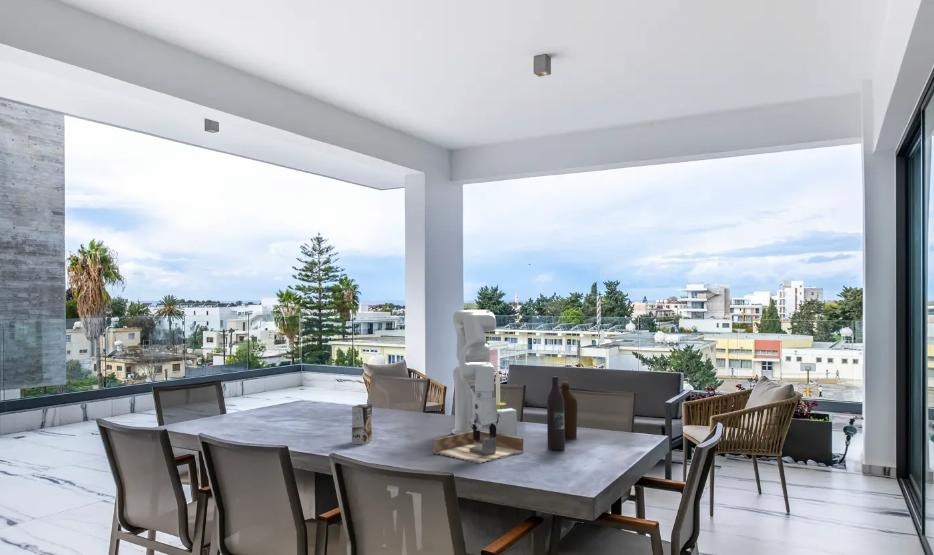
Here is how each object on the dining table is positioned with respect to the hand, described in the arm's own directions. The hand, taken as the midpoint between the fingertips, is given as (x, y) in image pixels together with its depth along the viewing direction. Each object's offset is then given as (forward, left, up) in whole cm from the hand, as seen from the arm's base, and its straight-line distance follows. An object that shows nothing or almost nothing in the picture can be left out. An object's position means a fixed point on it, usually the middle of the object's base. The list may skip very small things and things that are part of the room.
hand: (484, 438), depth 253 cm
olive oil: (-51, +4, -7) cm, 51 cm away
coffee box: (+17, -57, -7) cm, 60 cm away
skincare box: (-22, -7, -7) cm, 24 cm away
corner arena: (-2, -5, -7) cm, 9 cm away
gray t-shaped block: (0, -1, -6) cm, 6 cm away
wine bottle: (-28, +15, -7) cm, 32 cm away
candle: (-58, -42, -7) cm, 72 cm away
